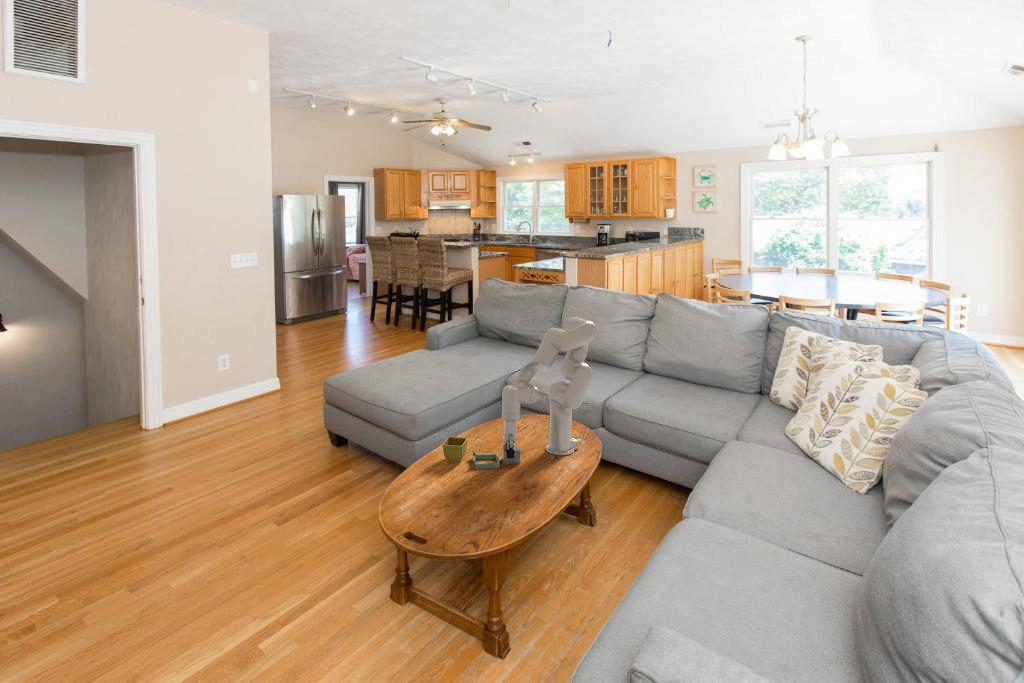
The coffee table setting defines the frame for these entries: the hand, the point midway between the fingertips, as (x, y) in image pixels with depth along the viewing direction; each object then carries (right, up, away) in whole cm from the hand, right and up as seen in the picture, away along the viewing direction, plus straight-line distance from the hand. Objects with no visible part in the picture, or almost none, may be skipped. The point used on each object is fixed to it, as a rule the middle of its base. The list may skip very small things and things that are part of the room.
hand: (509, 453), depth 241 cm
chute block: (+1, -4, +1) cm, 4 cm away
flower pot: (-23, -4, +2) cm, 23 cm away
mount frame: (-10, -4, 0) cm, 11 cm away
